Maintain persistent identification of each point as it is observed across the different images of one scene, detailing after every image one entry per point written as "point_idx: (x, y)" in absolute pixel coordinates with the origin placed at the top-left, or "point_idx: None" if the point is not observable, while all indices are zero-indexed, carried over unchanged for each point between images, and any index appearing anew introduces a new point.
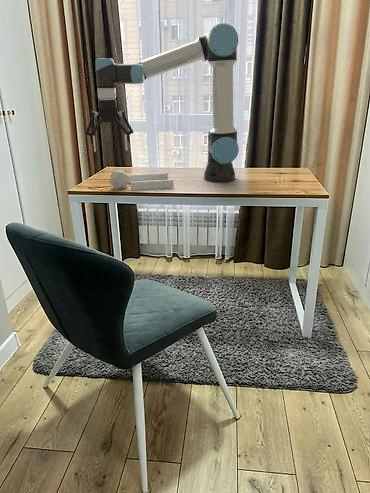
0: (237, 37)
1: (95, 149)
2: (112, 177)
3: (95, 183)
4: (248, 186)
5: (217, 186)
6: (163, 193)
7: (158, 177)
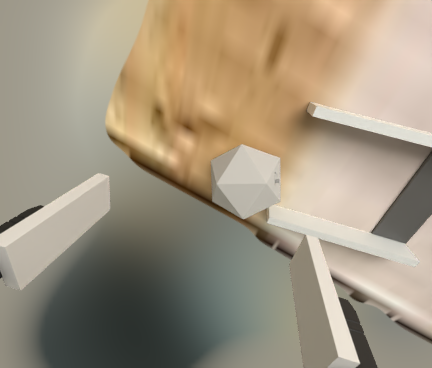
0: None
1: (98, 217)
2: (213, 195)
3: (183, 51)
4: None
5: None
6: None
7: None
